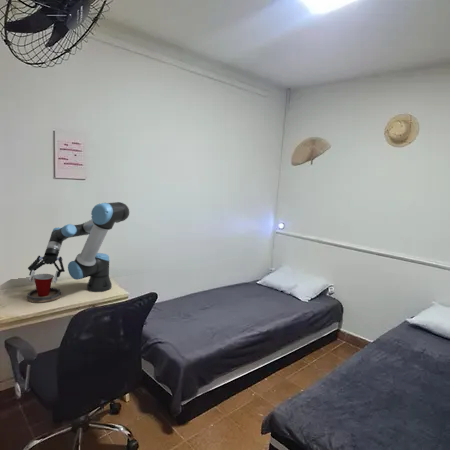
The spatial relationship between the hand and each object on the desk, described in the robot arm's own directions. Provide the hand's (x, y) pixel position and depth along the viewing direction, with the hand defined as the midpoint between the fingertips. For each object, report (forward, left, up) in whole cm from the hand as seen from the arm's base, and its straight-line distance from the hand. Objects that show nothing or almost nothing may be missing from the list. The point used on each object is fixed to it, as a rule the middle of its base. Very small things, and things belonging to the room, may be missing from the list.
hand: (42, 281), depth 193 cm
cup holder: (0, -2, -10) cm, 11 cm away
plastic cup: (+1, -3, -9) cm, 10 cm away
